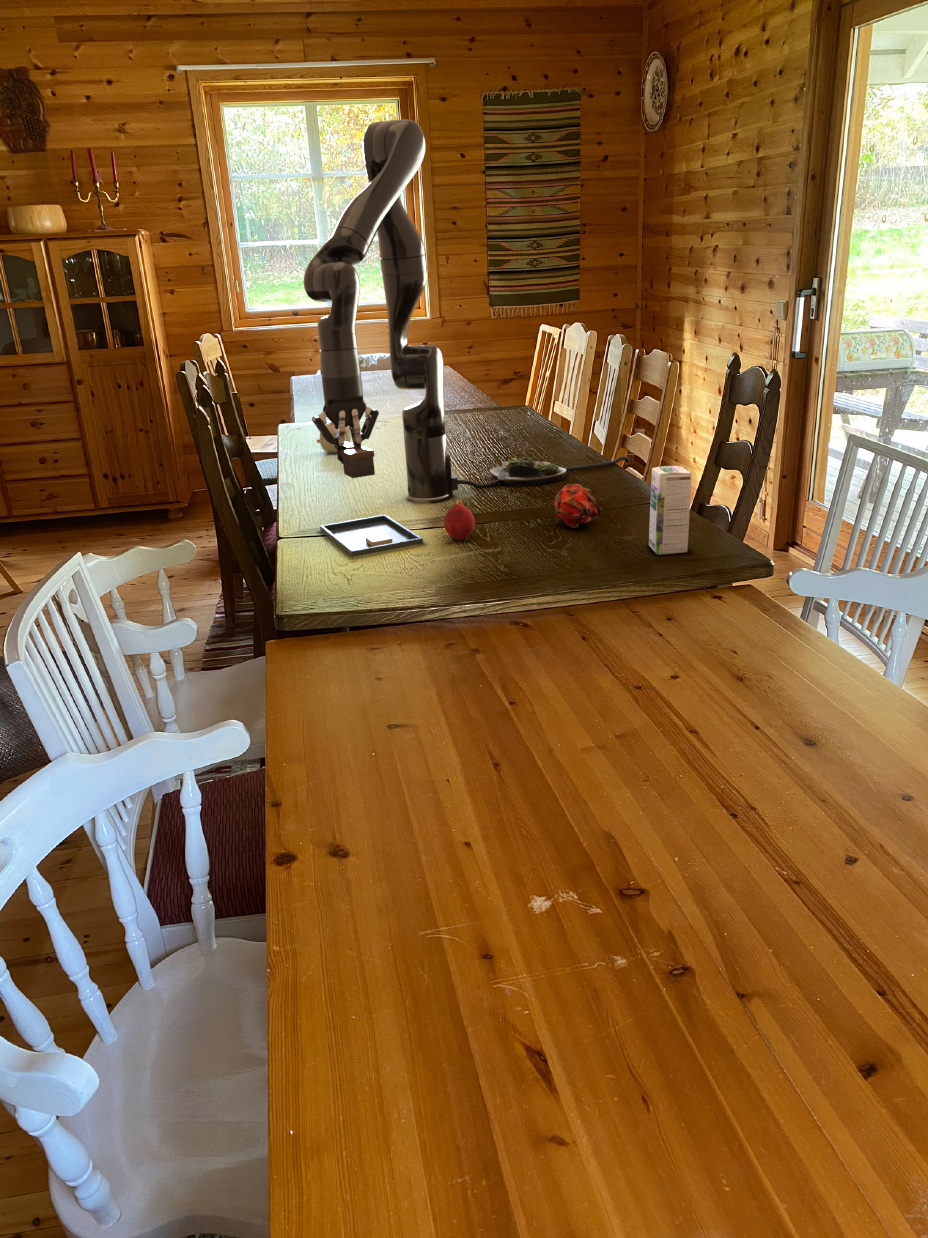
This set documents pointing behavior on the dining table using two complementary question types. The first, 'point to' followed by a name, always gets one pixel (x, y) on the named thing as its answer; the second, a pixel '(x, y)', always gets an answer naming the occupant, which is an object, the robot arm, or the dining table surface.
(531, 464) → the salad plate
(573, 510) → the dragon fruit
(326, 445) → the garlic bulb
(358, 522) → the tray
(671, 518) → the syrup box
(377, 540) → the tan flat square block
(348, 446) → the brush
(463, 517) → the onion
